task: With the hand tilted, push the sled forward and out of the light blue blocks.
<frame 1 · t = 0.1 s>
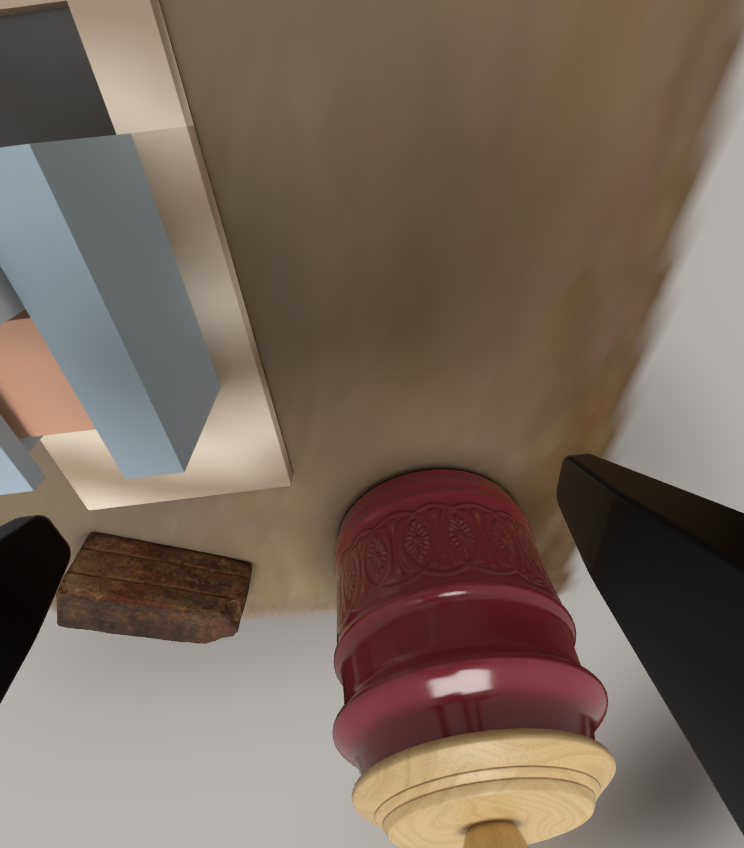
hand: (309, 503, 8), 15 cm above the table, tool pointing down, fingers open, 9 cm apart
brick: (173, 559, 31), on the table
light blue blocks: (100, 285, 20), resting on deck
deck: (81, 243, 19), on the table
canister: (427, 532, 31), on the table
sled: (0, 368, 14), point 7 cm above the table, slide at 0.0 cm
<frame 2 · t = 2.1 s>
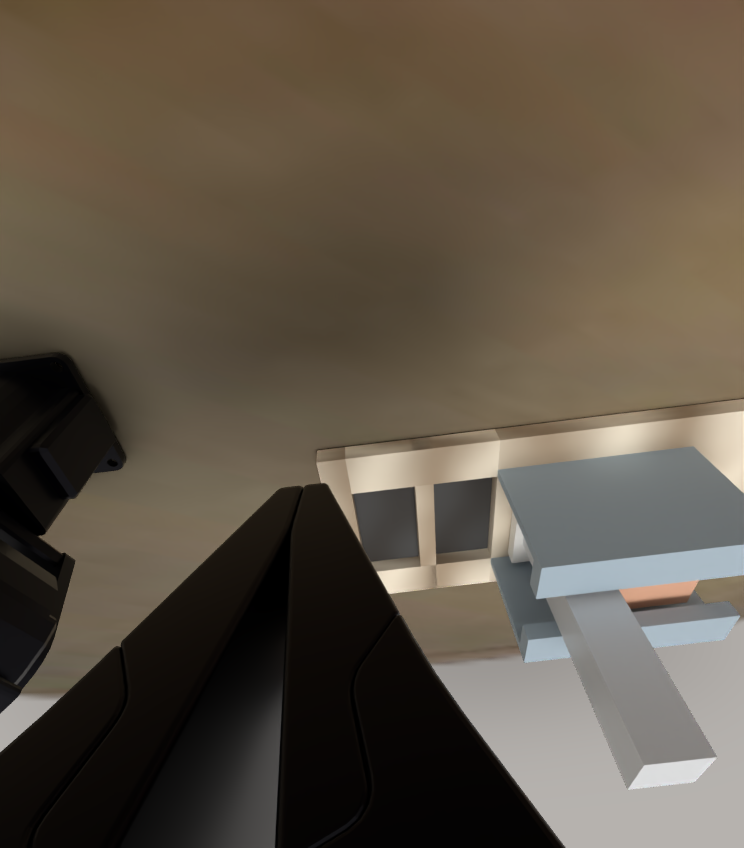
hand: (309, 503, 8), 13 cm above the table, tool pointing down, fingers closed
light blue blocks: (575, 497, 27), resting on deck
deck: (546, 501, 27), on the table
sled: (648, 607, 21), point 7 cm above the table, slide at 0.0 cm
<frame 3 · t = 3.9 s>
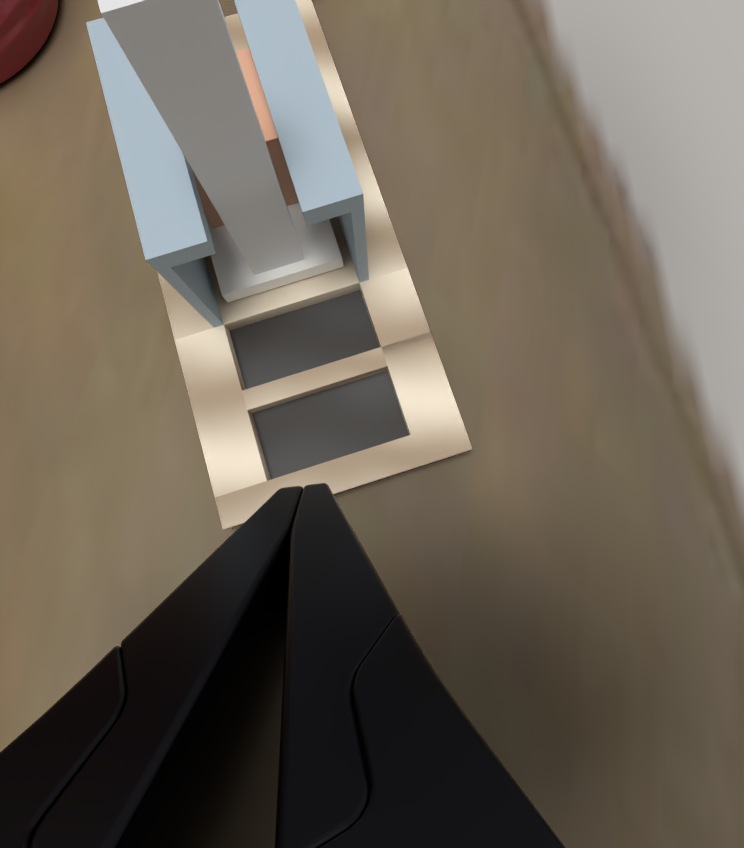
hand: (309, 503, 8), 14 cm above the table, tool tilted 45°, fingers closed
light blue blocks: (268, 223, 24), resting on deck
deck: (277, 252, 23), on the table
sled: (216, 98, 16), point 7 cm above the table, slide at 0.0 cm
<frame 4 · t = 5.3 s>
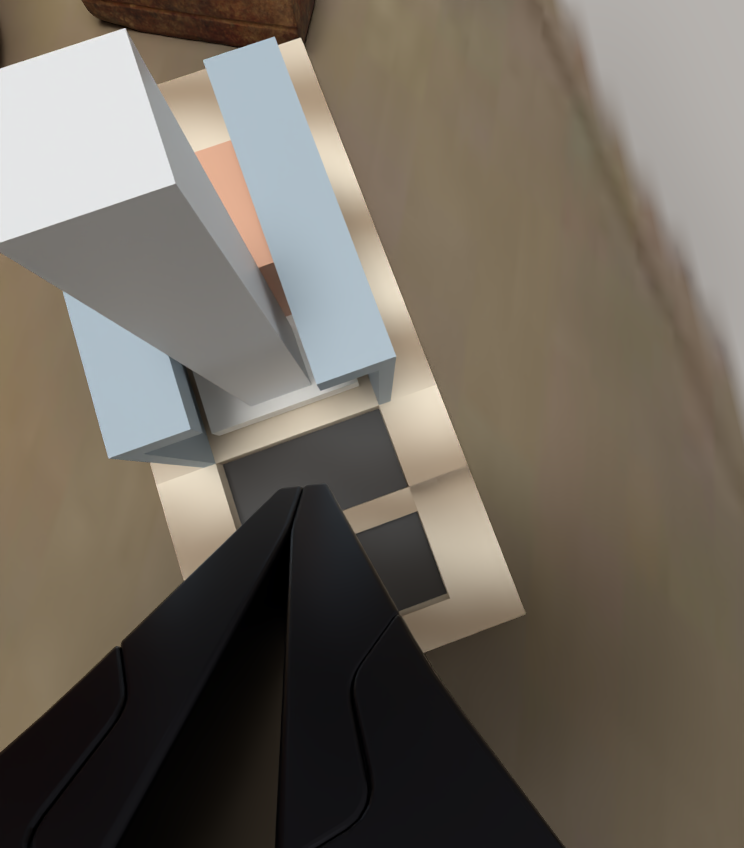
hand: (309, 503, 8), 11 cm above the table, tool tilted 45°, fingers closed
brick: (210, 17, 22), on the table
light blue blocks: (264, 326, 20), resting on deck
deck: (276, 362, 19), on the table
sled: (194, 225, 12), point 7 cm above the table, slide at 0.0 cm
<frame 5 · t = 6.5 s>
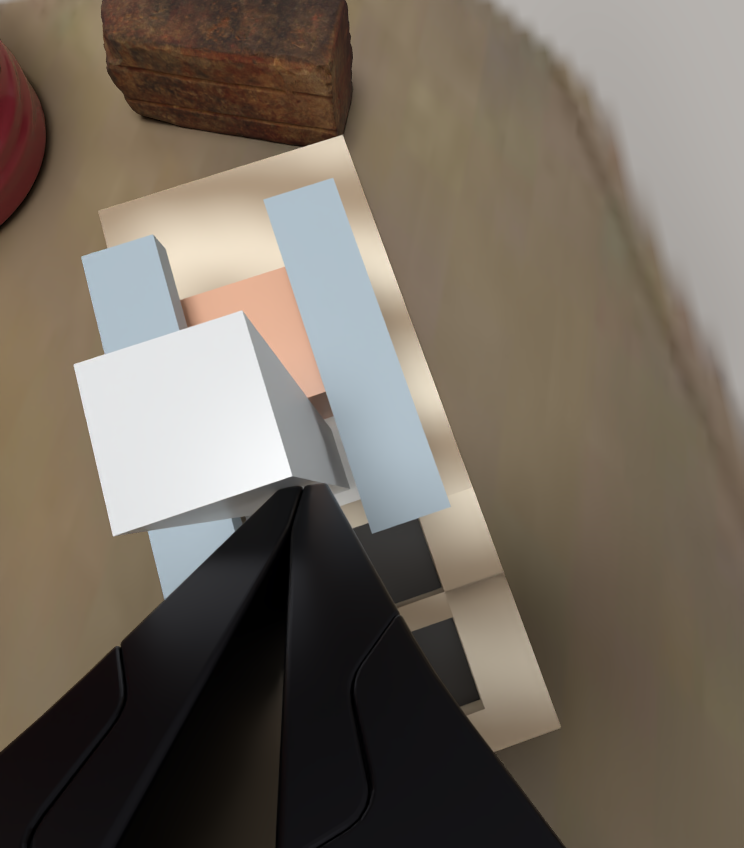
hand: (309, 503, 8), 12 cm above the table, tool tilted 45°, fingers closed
brick: (248, 111, 23), on the table
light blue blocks: (301, 418, 20), resting on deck
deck: (312, 455, 20), on the table
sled: (253, 366, 13), point 7 cm above the table, slide at 0.0 cm, touching gripper
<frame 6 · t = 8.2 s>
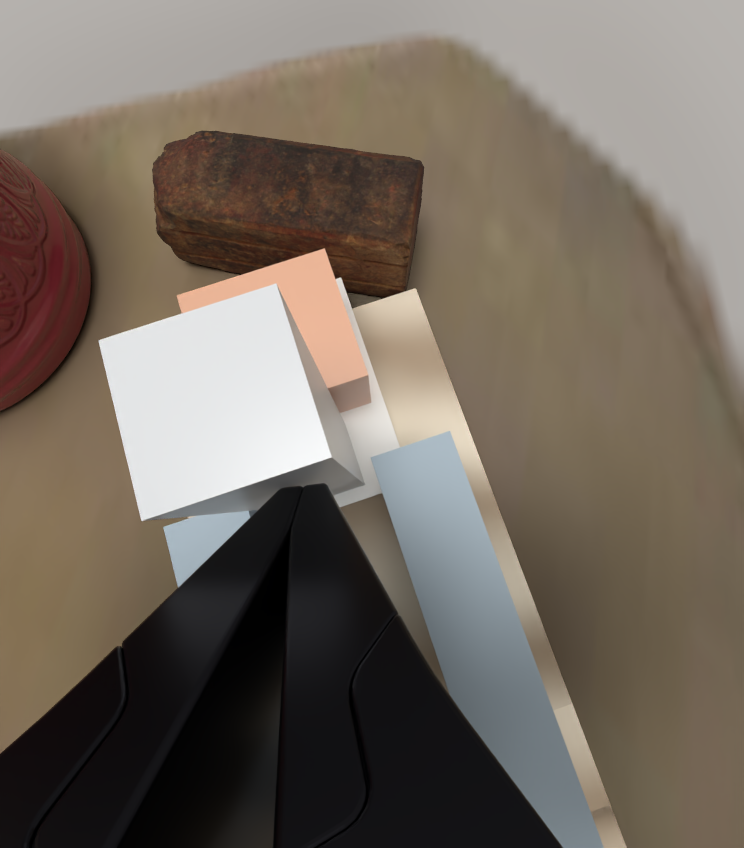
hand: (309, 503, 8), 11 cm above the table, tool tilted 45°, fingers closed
brick: (302, 251, 21), on the table
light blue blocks: (375, 608, 18), resting on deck
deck: (388, 652, 18), on the table
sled: (270, 356, 12), point 7 cm above the table, slide at 8.6 cm, touching gripper
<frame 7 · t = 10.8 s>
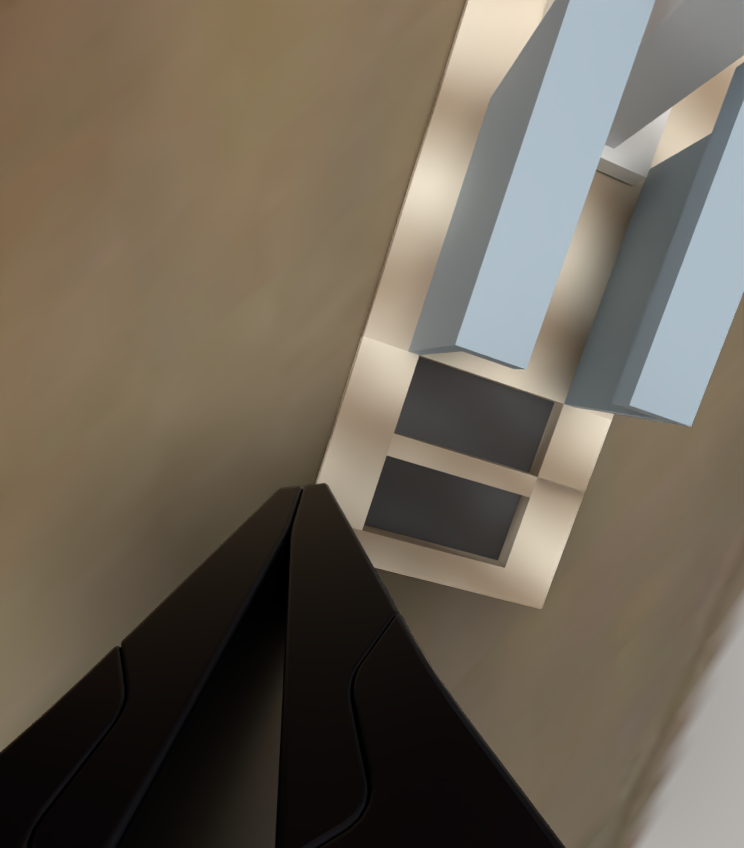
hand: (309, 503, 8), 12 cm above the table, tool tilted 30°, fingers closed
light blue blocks: (523, 267, 20), resting on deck
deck: (510, 305, 20), on the table
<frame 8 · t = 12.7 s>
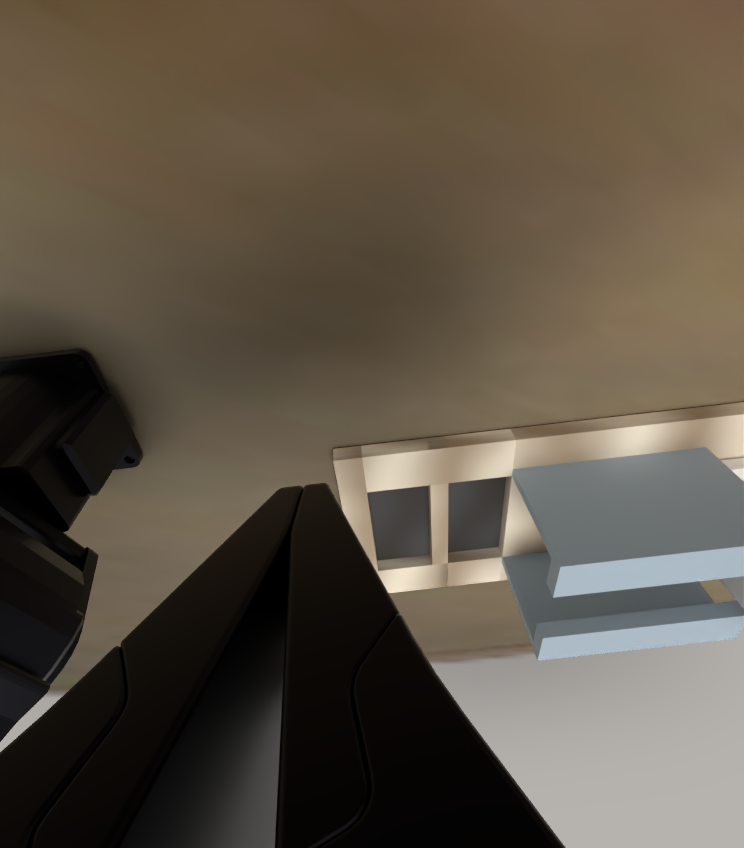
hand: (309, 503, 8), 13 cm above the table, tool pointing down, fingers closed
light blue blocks: (586, 497, 27), resting on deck
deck: (558, 500, 27), on the table
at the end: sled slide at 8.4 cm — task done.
